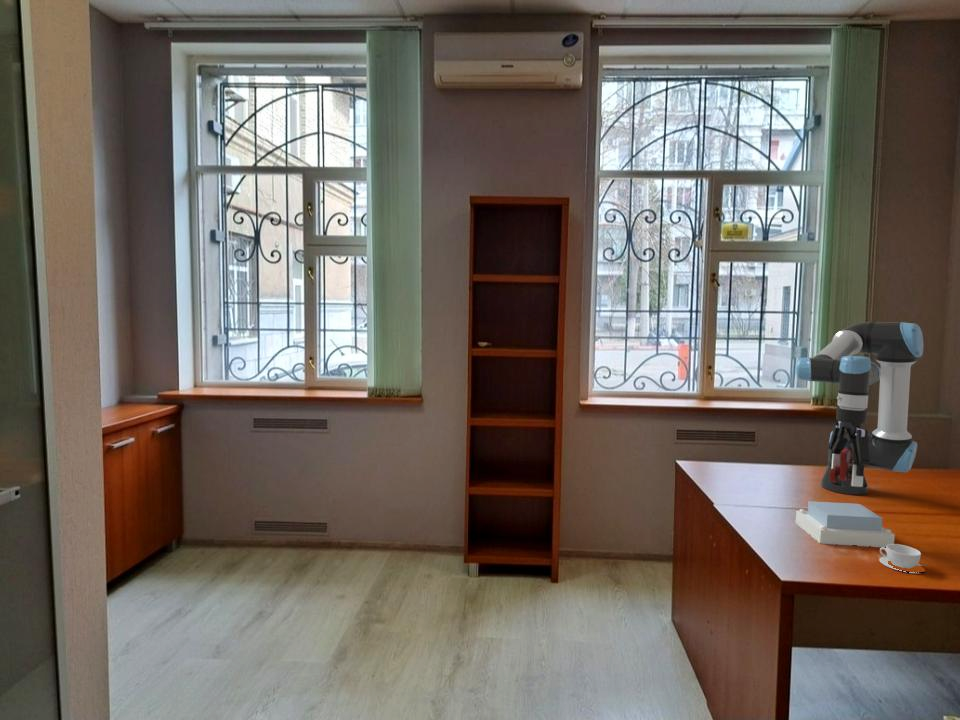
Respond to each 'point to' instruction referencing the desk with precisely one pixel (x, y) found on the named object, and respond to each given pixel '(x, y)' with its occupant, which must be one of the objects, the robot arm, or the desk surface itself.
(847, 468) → the red toy vehicle
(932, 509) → the desk surface
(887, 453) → the robot arm
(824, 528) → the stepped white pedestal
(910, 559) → the teacup
